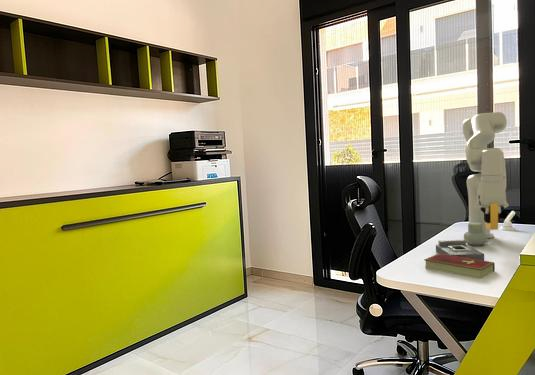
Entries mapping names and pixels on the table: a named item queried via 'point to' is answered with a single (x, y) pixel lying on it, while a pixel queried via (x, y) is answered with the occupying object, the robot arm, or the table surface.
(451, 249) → the grey box with slot
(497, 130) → the robot arm
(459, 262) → the hardcover book
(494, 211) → the brass peg in socket
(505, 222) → the hook
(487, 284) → the table surface
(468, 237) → the air freshener
